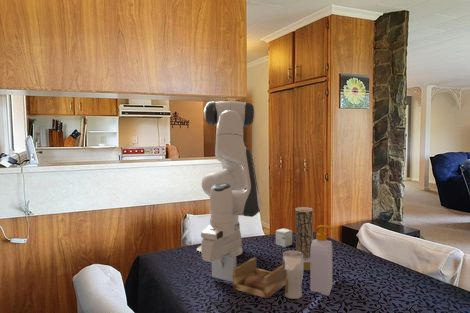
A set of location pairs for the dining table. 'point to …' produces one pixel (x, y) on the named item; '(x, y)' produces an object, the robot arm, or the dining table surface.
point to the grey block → (224, 268)
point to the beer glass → (293, 273)
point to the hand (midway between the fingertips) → (223, 266)
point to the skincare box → (284, 237)
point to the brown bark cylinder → (304, 233)
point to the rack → (271, 279)
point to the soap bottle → (321, 263)
